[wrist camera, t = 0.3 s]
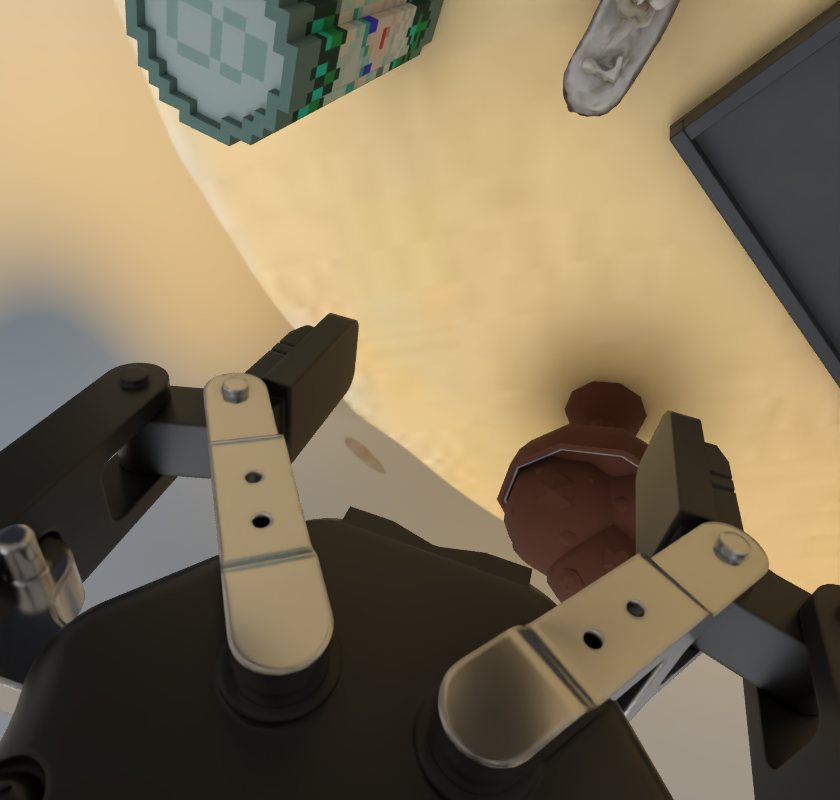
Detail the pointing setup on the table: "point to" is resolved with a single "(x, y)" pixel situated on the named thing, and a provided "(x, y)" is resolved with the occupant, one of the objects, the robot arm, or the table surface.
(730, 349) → the table surface
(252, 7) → the can
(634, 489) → the ice cream bowl
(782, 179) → the tray
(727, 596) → the robot arm
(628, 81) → the flask
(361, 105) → the table surface
